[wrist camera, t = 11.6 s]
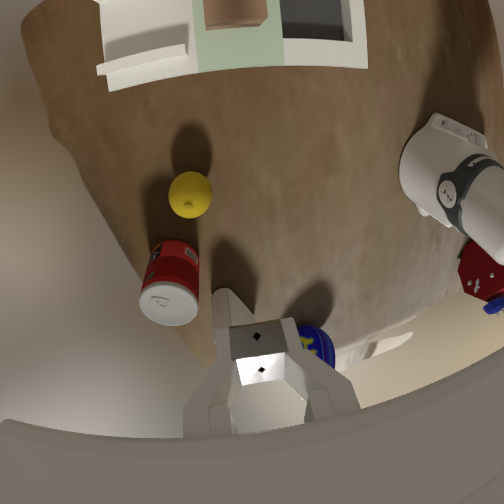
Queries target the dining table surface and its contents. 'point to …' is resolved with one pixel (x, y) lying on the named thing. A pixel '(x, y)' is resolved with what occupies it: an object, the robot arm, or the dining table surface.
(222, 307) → the white rounded block
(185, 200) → the lemon
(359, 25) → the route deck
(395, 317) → the dining table surface
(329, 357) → the ornament
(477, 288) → the alarm clock
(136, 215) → the dining table surface
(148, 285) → the canned food
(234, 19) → the walnut block
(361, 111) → the dining table surface
